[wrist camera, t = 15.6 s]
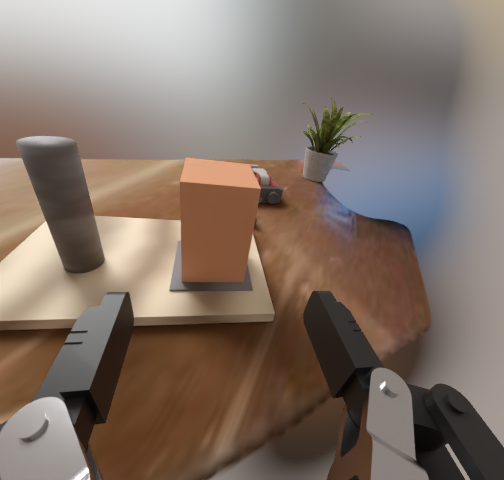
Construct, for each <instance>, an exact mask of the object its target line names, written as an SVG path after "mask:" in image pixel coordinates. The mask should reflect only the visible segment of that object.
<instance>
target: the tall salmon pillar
mask: <svg viewBox="0 0 504 480" xmlns="http://www.w3.org/2000/svg"><path fill="white" fill-rule="evenodd" d="M260 192H261V188H260V185H259V183H258V181H257V179H256V177H255V175H254V173H253V171H252V168H251V166H250V165H249V164H240V163H231V162H222V161H213V160H204V159H195V158H186V160H185V164H184V168H183V172H182V176H181V180H180V206H181V271H182V282H244V277H245V272H246V267H247V261H248V256H249V251H250V245H251V240H252V235H253V229H254V224H255V219H256V213H257V208H258V202H259V197H260Z"/></svg>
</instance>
